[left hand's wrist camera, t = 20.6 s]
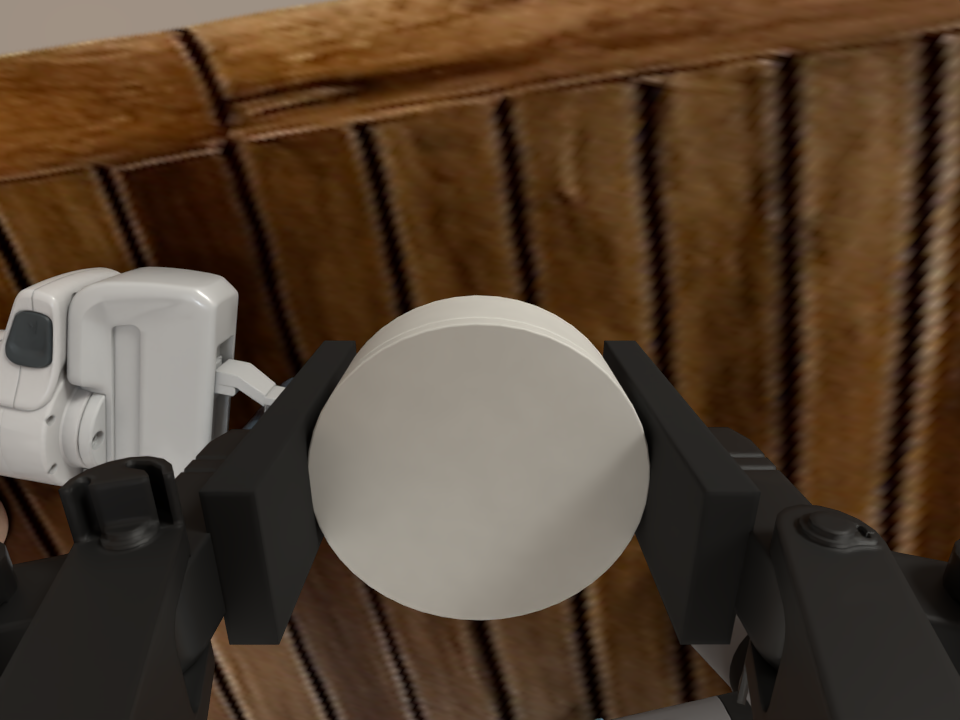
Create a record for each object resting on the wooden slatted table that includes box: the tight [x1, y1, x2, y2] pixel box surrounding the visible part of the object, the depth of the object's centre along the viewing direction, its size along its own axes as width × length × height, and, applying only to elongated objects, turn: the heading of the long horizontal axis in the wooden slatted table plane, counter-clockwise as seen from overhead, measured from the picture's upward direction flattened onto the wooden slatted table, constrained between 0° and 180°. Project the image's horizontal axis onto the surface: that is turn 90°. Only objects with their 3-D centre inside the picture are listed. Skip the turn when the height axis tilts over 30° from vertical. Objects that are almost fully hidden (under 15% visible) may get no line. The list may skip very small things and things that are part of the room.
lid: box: [308, 295, 650, 620], centre depth 11 cm, size 6×6×2 cm
